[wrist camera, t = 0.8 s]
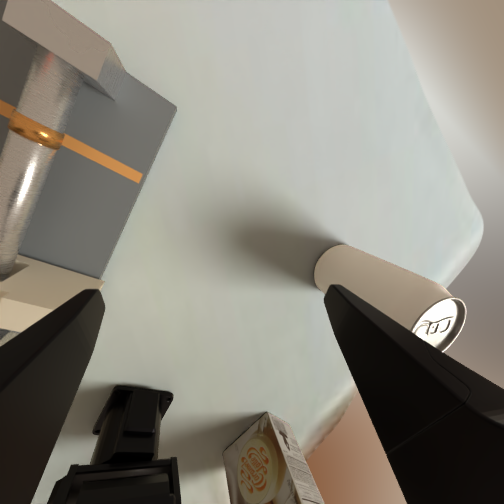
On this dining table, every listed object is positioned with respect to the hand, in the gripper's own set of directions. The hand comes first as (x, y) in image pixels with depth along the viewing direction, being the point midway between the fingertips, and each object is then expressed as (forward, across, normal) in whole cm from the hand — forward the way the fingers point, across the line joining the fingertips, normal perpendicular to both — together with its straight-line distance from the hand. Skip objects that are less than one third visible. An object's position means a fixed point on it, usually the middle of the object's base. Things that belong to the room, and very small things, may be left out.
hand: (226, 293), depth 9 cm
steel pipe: (+12, +13, +2) cm, 18 cm away
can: (+13, -15, +9) cm, 22 cm away
